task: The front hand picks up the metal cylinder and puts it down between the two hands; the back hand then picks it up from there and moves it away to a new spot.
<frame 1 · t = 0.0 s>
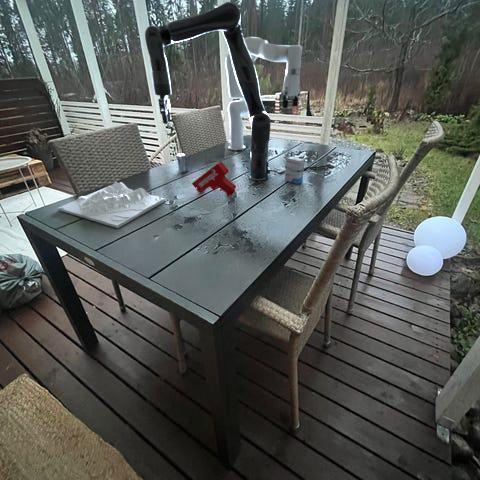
front hand: (167, 121, 130), 29 cm above the table, tool pointing down, fingers open, 8 cm apart
back hand: (290, 107, 158), 31 cm above the table, tool pointing down, fingers open, 9 cm apart
relief map: (113, 205, 120), on the table
ink box: (293, 181, 143), on the table
toy gun: (214, 193, 131), on the table
metal cylinder: (183, 171, 158), on the table
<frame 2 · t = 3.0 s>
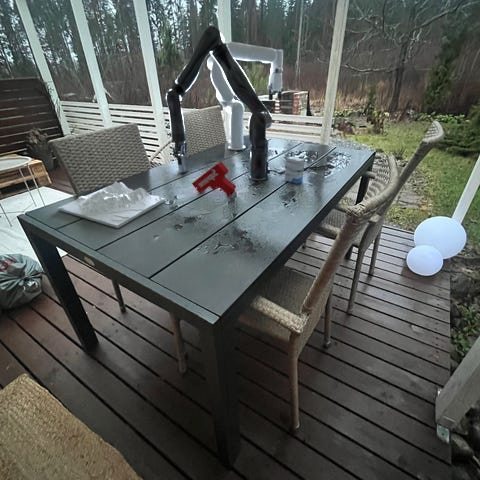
front hand: (181, 163, 155), 5 cm above the table, tool pointing down, fingers closed on metal cylinder, 4 cm apart
back hand: (274, 99, 195), 31 cm above the table, tool pointing down, fingers open, 9 cm apart
metal cylinder: (183, 171, 158), on the table, touching front hand
everything else where it was.
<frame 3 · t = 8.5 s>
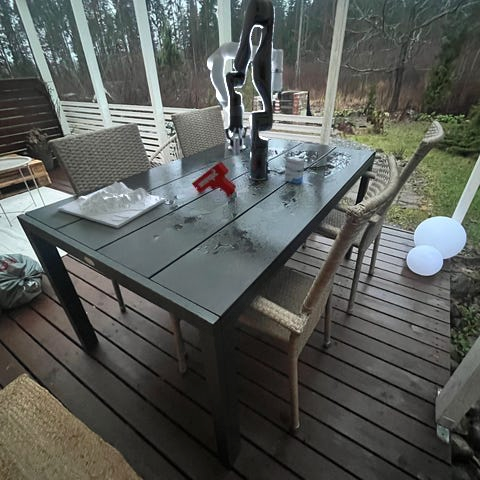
front hand: (236, 145, 159), 12 cm above the table, tool pointing down, fingers closed on metal cylinder, 4 cm apart
back hand: (274, 99, 195), 31 cm above the table, tool pointing down, fingers open, 9 cm apart
metal cylinder: (236, 154, 161), point 7 cm above the table, touching front hand
everything else where it was.
when the front hand's fingers open (7 cm above the table, at t = 14.0 s): metal cylinder drops 1 cm, on the table.
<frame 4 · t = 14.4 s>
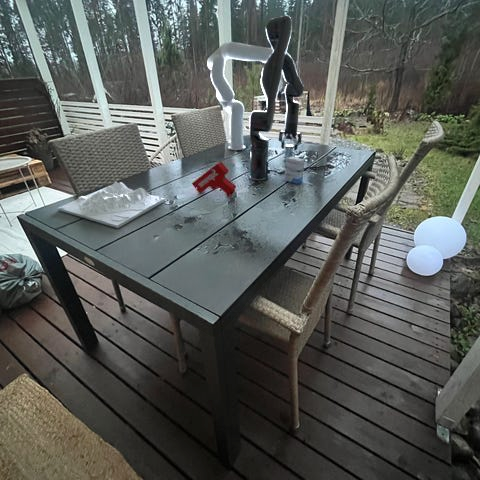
front hand: (289, 149, 170), 7 cm above the table, tool pointing down, fingers open, 8 cm apart
back hand: (274, 99, 195), 31 cm above the table, tool pointing down, fingers open, 9 cm apart
metal cylinder: (287, 161, 174), on the table
everything else where it was.
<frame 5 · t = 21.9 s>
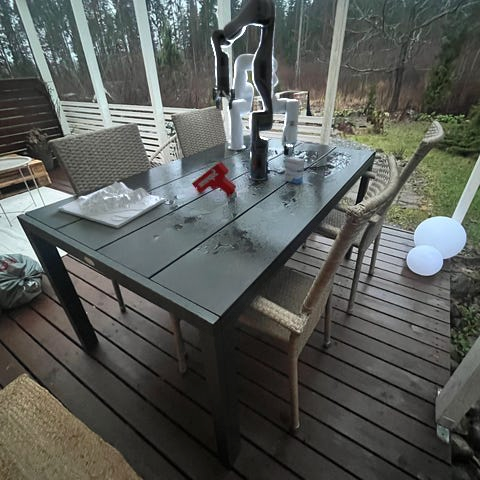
front hand: (224, 109, 155), 31 cm above the table, tool pointing down, fingers open, 8 cm apart
back hand: (288, 153, 171), 5 cm above the table, tool pointing down, fingers closed on metal cylinder, 4 cm apart
metal cylinder: (287, 161, 174), on the table, touching back hand
everything else where it was.
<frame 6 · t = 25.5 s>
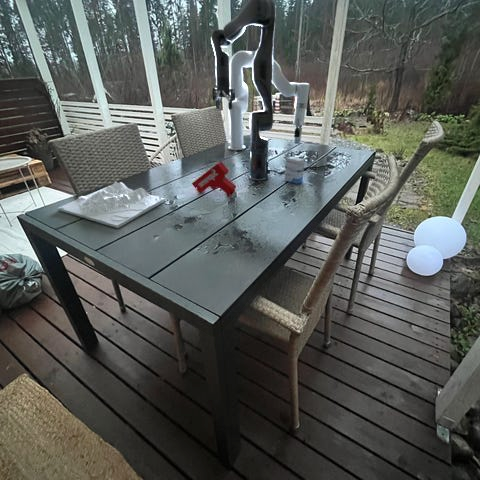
front hand: (224, 109, 155), 31 cm above the table, tool pointing down, fingers open, 8 cm apart
back hand: (297, 135, 180), 12 cm above the table, tool pointing down, fingers closed on metal cylinder, 4 cm apart
metal cylinder: (297, 143, 183), point 8 cm above the table, touching back hand
everything else where it was.
when the back hand's fingers open (6 cm above the table, at t = 29.1 s): metal cylinder drops 1 cm, on the table.
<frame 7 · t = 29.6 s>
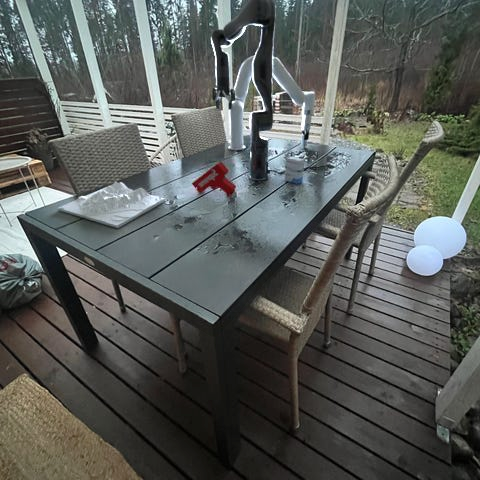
front hand: (224, 109, 155), 31 cm above the table, tool pointing down, fingers open, 8 cm apart
back hand: (304, 138, 197), 7 cm above the table, tool pointing down, fingers open, 9 cm apart
metal cylinder: (303, 148, 201), on the table
everything else where it was.
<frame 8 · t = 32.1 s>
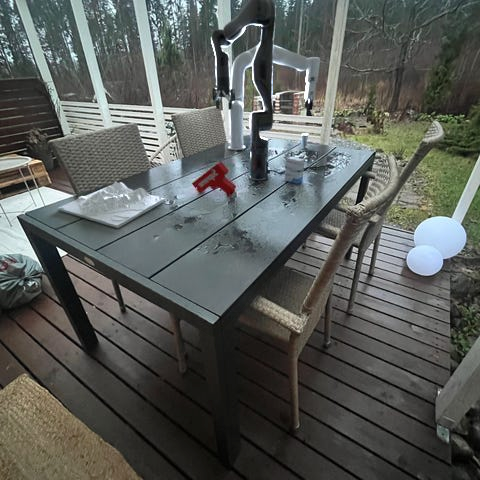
front hand: (224, 109, 155), 31 cm above the table, tool pointing down, fingers open, 8 cm apart
back hand: (308, 108, 187), 26 cm above the table, tool pointing down, fingers open, 9 cm apart
nothing on the table moved.
at the end: metal cylinder inside the target area (0.2 cm from its centre), on the table; metal cylinder tilted 0°; the two hands never held the metal cylinder at the same time; the front hand is holding nothing; the back hand is holding nothing; metal cylinder at rest at the end (0.0 cm/s) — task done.
